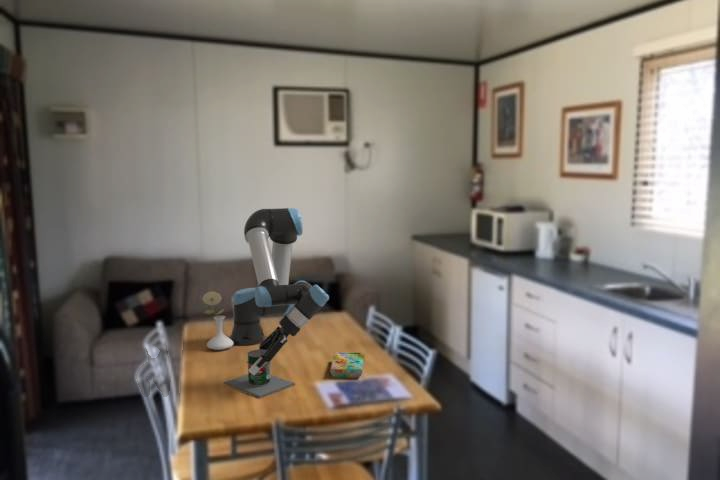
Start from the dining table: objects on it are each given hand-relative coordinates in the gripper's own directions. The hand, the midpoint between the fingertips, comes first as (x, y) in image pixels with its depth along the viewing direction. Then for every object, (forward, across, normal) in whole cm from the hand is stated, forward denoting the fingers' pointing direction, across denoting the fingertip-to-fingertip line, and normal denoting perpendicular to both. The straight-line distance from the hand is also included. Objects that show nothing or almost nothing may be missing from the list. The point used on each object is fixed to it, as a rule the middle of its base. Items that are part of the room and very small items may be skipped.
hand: (249, 368), depth 206 cm
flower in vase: (+12, +49, +3) cm, 51 cm away
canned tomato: (+2, 0, -6) cm, 7 cm away
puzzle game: (-22, +8, -32) cm, 39 cm away
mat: (+2, 0, -7) cm, 7 cm away
